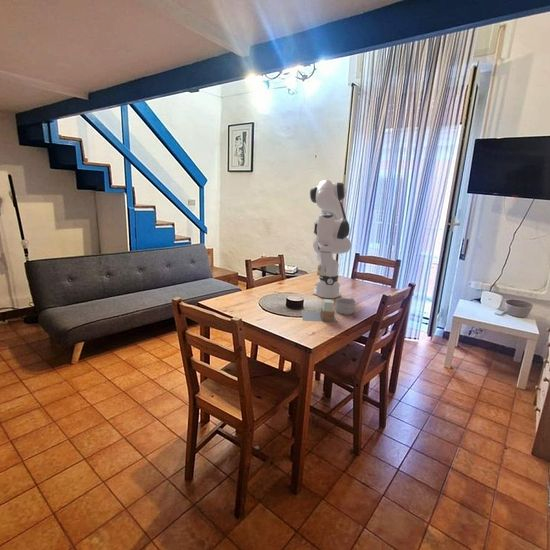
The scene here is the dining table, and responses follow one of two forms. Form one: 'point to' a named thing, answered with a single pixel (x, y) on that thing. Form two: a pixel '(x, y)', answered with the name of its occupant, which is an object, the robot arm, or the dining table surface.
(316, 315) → the slate board
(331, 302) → the sage top block
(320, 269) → the beech cylinder
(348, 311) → the teacup
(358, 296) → the dining table surface
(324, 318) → the walnut base block
